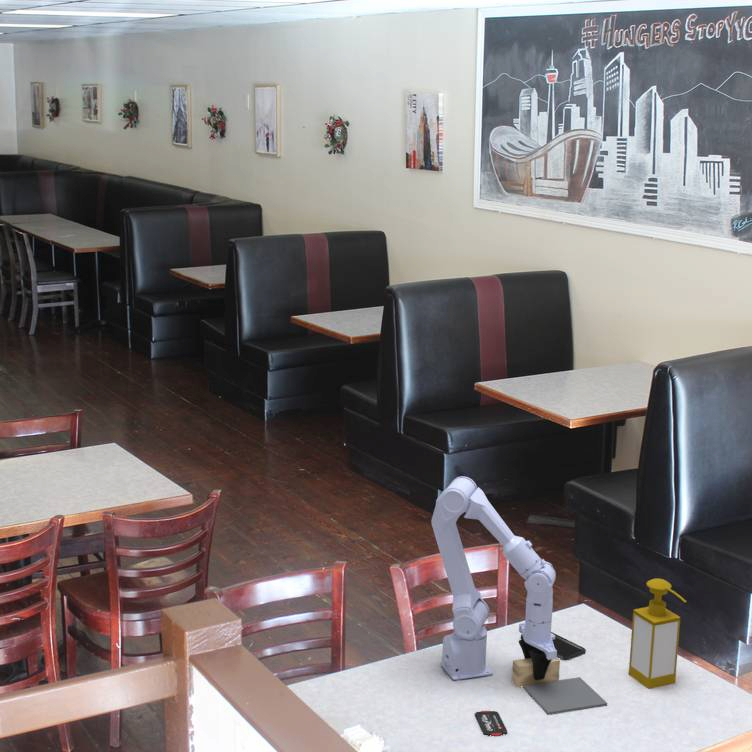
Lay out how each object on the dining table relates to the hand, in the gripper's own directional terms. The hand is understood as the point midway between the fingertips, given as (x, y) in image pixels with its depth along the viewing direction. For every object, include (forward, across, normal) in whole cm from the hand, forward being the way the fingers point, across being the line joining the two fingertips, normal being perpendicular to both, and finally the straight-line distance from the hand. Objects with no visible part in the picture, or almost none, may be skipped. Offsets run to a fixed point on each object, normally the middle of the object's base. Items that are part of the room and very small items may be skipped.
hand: (535, 675), depth 242 cm
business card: (+2, -14, +17) cm, 22 cm away
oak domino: (+2, 0, 0) cm, 2 cm away
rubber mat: (+1, -8, -3) cm, 9 cm away
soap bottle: (+2, -9, -26) cm, 28 cm away
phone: (+2, +15, -12) cm, 19 cm away
